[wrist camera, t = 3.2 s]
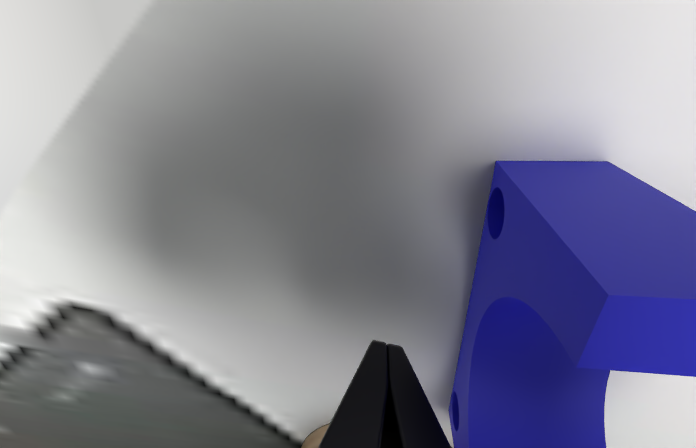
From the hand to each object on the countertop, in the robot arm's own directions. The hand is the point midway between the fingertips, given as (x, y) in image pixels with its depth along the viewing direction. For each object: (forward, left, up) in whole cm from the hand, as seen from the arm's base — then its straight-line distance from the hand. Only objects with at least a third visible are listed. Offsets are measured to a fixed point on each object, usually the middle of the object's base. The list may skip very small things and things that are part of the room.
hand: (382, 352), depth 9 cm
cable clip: (0, -6, -4) cm, 7 cm away
